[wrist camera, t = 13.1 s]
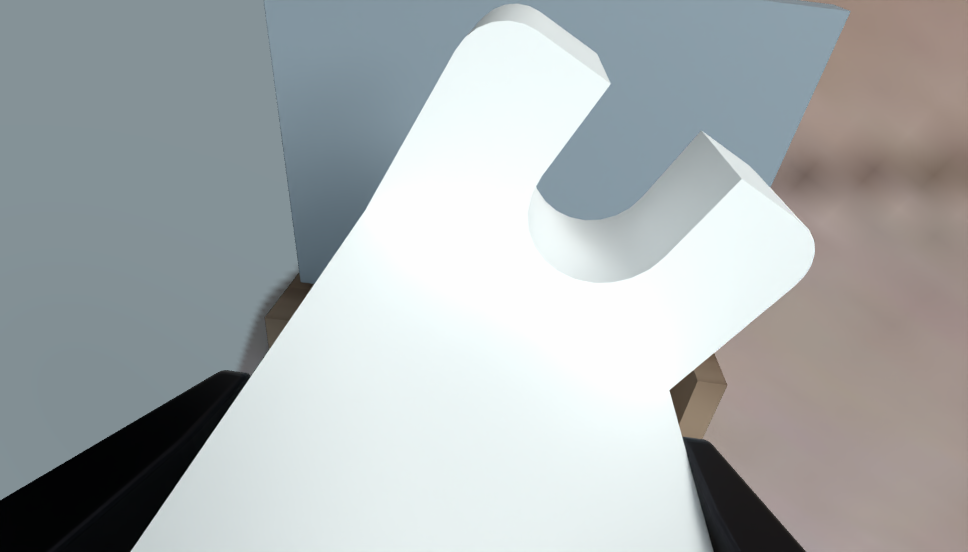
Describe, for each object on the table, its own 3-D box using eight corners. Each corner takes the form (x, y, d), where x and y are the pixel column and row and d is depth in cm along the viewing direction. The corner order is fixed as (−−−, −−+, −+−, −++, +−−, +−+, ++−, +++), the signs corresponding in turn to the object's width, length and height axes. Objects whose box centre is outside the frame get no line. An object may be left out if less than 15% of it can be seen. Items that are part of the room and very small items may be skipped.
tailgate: (700, 339, 20) (850, 11, 13) (300, 282, 20) (255, -63, 14) (693, 317, 21) (828, 2, 14) (313, 262, 21) (277, -66, 15)
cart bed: (628, 494, 27) (647, 618, 22) (323, 447, 28) (273, 559, 23) (698, 316, 21) (746, 430, 16) (308, 260, 22) (236, 354, 17)
